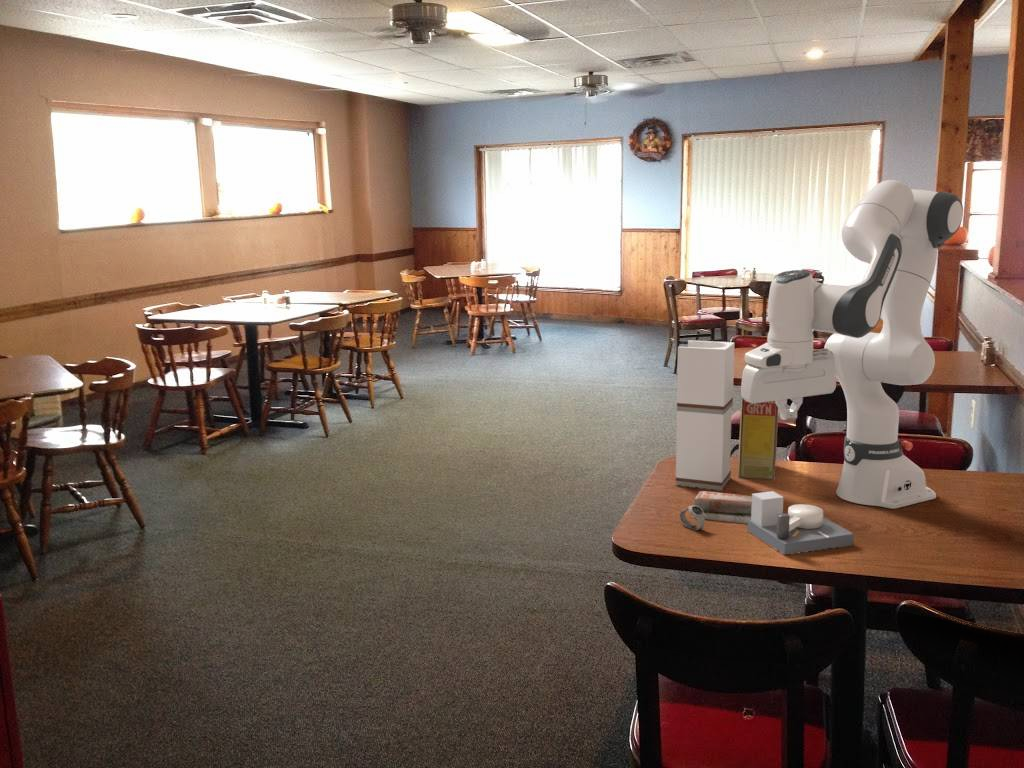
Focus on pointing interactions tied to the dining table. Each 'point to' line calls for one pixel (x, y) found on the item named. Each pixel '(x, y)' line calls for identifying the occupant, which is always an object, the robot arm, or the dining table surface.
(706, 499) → the packaged product
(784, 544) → the base
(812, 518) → the knob
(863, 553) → the dining table surface
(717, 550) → the dining table surface
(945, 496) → the dining table surface
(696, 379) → the white striped tall box
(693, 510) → the wristwatch
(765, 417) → the food packaging
